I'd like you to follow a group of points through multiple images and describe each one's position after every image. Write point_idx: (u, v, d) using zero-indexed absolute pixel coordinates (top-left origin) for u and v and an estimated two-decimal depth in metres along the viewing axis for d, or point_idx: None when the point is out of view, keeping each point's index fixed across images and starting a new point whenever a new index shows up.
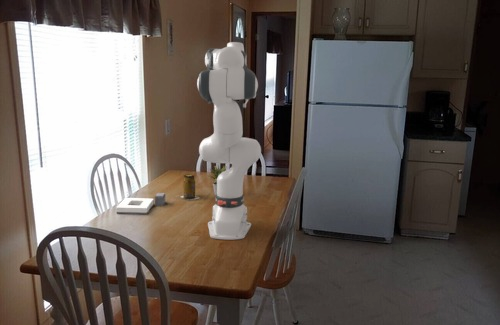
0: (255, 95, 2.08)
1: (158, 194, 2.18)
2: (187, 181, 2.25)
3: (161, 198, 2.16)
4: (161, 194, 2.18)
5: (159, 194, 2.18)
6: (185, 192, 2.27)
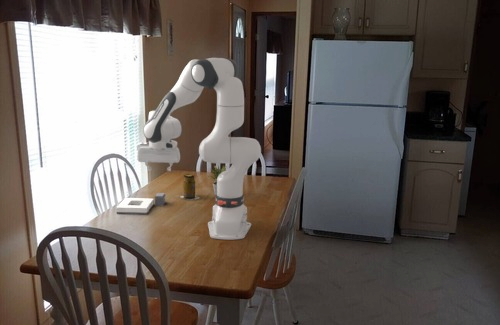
0: (178, 160, 2.12)
1: (158, 194, 2.18)
2: (187, 181, 2.25)
3: (161, 198, 2.16)
4: (161, 194, 2.18)
5: (159, 194, 2.18)
6: (185, 192, 2.27)
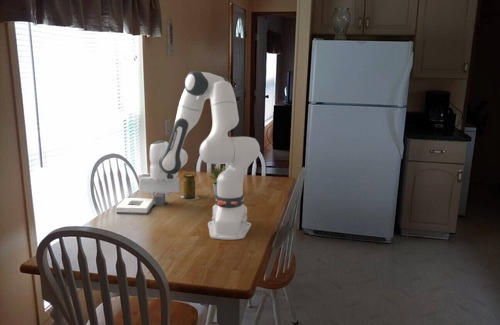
0: (179, 190, 2.15)
1: (158, 194, 2.18)
2: (187, 181, 2.25)
3: (161, 198, 2.16)
4: (161, 194, 2.18)
5: (159, 194, 2.18)
6: (185, 192, 2.27)
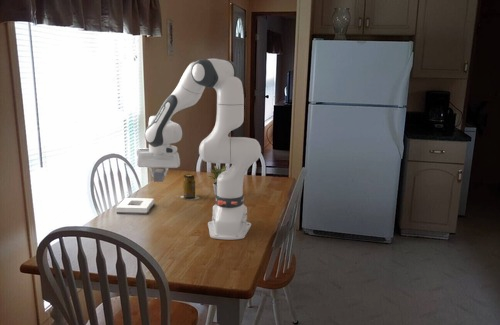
0: (178, 165, 2.12)
1: (157, 170, 2.14)
2: (187, 181, 2.25)
3: (160, 174, 2.12)
4: (160, 170, 2.14)
5: (158, 170, 2.14)
6: (185, 192, 2.27)
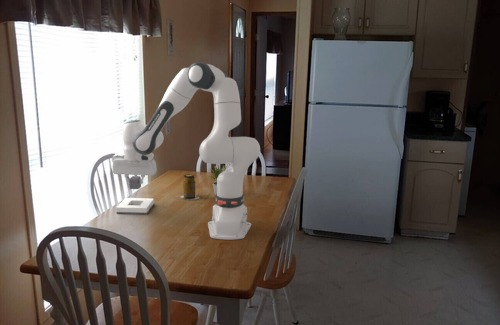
0: (154, 173, 2.06)
1: (133, 177, 2.08)
2: (187, 181, 2.25)
3: (136, 181, 2.06)
4: (136, 177, 2.09)
5: (134, 177, 2.08)
6: (185, 192, 2.27)
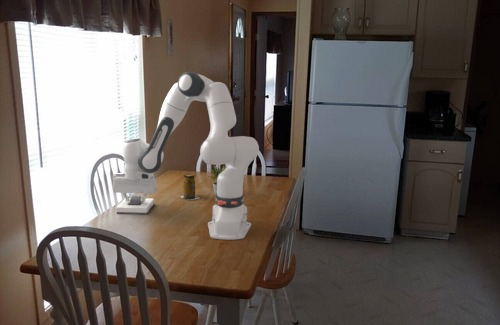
0: (154, 191, 2.07)
1: (133, 197, 2.10)
2: (187, 181, 2.25)
3: (136, 201, 2.08)
4: (136, 197, 2.10)
5: (134, 197, 2.10)
6: (185, 192, 2.27)
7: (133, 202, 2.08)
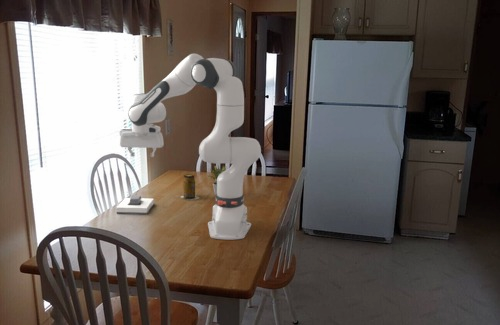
0: (161, 145, 2.10)
1: (133, 197, 2.10)
2: (187, 181, 2.25)
3: (136, 201, 2.08)
4: (136, 197, 2.10)
5: (134, 197, 2.10)
6: (185, 192, 2.27)
7: (133, 202, 2.08)
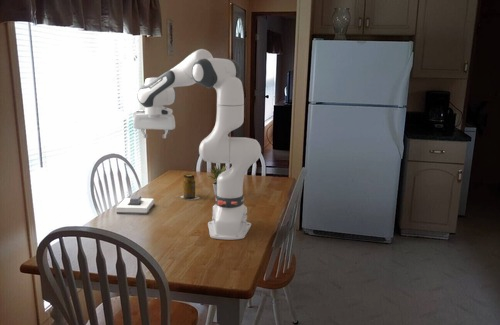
0: (173, 127, 2.18)
1: (133, 197, 2.10)
2: (187, 181, 2.25)
3: (136, 201, 2.08)
4: (136, 197, 2.10)
5: (134, 197, 2.10)
6: (185, 192, 2.27)
7: (133, 202, 2.08)
